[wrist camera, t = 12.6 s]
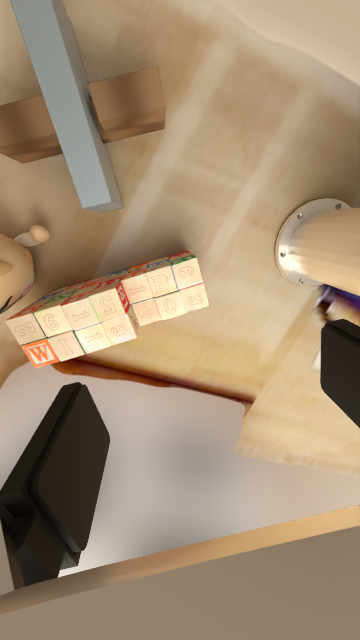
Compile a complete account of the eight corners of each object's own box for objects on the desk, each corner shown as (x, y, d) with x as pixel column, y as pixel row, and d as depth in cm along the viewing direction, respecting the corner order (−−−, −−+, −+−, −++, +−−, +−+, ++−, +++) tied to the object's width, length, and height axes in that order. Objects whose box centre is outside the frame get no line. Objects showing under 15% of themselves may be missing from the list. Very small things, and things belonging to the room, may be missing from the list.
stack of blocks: (188, 248, 35) (202, 260, 23) (198, 288, 37) (216, 316, 26) (52, 290, 35) (1, 321, 24) (70, 326, 38) (33, 370, 26)
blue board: (44, 30, 25) (-13, -66, 17) (71, 24, 25) (27, -76, 17) (102, 212, 32) (82, 208, 24) (123, 207, 32) (111, 201, 24)
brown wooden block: (157, 97, 28) (157, 66, 22) (164, 128, 29) (165, 105, 23) (10, 134, 28) (-26, 112, 22) (23, 163, 29) (-9, 149, 24)
